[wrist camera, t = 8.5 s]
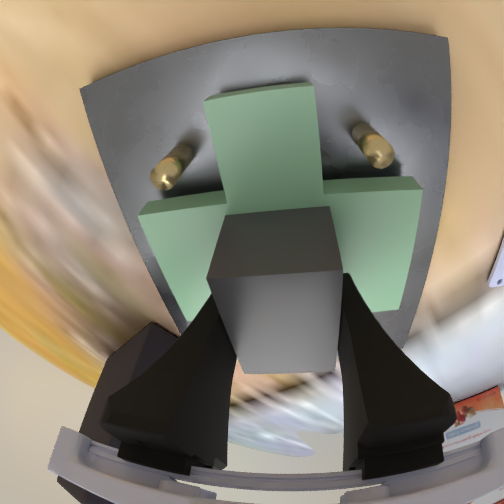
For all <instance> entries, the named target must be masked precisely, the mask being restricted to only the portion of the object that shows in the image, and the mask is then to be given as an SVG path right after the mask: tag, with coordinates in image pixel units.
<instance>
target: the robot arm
mask: <svg viewBox="0 0 504 504" xmlns="http://www.w3.org/2000/svg"><path fill="white" fill-rule="evenodd" d="M488 285H489V286H490V287H497V286H503V285H504V238H503V241H502V244H501V247H500V250H499V253H498V255H497V258H496V261H495V264H494V266H493V269H492V271H491V274H490V276H489V279H488ZM337 350H338V355H339V361H340V367H341V373H342V382H343V402H344V453H343V471H342V472H331V473H312V474H264V473H246V472H234V471H224V470H222V469H224V468H225V467H226V466H227V441H228V421H229V407H230V396H231V386H232V379H233V374H234V369H235V365H236V360H237V355H236V353H235V351H234V348H233V346H232V343H231V341H230V338H229V336H228V334H227V331H226V329H225V326H224V324H223V321H222V319H221V316H220V313H219V311H218V308H217V306H216V303H215V301H214V298H213V296H212V293H211V295H210V296H209V298H208V299H207V301H206V302H205V304H204V305H203V307H202V308H201V309H200V311H199V312H198V314H197V315H196V316H195V318H194V319H193V321H192V322H191V323H190V324H189V326H188V327H187V328H186V330H185V331H184V332H183V333H182V335H181V336H180V337H179V338H178V339H177V340H176V342H175V343H174V344H173V345H172V346H171V347H170V348H169V349H168V350H167V351H166V352H165V353H164V354H163V355H162V356H161V357H160V358H159V359H158V360H157V361H156V362H155V363H154V364H153V365H152V366H151V367H149V368H148V369H147V370H146V371H144V372H143V373H142V374H141V375H139V376H138V377H137V378H136V379H134V380H133V381H132V382H130V383H129V384H127V385H126V386H124V387H123V388H121V389H120V390H118V391H117V392H115V393H113V394H112V395H110V396H108V399H107V401H106V404H105V406H104V409H103V412H102V415H101V418H100V421H99V425H100V427H101V428H102V429H103V430H105V431H106V432H108V433H109V434H111V435H112V436H114V437H115V438H117V439H118V440H120V441H121V444H120V447H119V449H117V448H113V447H110V446H107V445H104V444H101V443H98V442H95V441H92V440H91V439H90V438H88V437H87V436H85V435H83V434H81V433H79V432H76V431H74V430H71V429H69V428H66V427H64V426H62V427H61V429H60V433H59V435H58V438H57V441H56V444H55V446H54V449H53V453H52V455H51V458H50V462H49V465H48V470H50V471H52V472H53V473H55V474H57V475H59V476H61V477H63V478H64V479H66V480H68V481H70V482H72V483H74V484H76V485H78V486H79V487H81V488H83V489H85V490H87V491H89V492H91V493H93V494H95V495H97V496H100V497H102V498H104V499H106V500H108V501H111V502H113V503H115V504H253V503H241V502H231V501H222V500H216V493H215V492H211V491H207V490H204V489H201V488H200V487H197V486H192V485H188V484H184V483H179V482H177V481H176V480H175V479H177V480H182V481H187V482H193V483H198V484H205V485H211V486H219V487H227V488H237V489H249V490H263V491H317V490H334V489H345V488H355V487H362V486H370V485H376V484H381V485H380V486H376V487H370V488H365V489H360V490H353V491H347V492H346V493H345V494H344V495H342V496H341V497H340V504H467V503H470V502H472V501H474V500H476V499H478V498H481V497H483V496H485V495H487V494H489V493H491V492H493V491H495V490H497V489H499V488H501V487H503V486H504V427H503V428H501V429H498V430H496V431H494V432H492V433H490V434H488V435H486V436H485V437H483V438H482V439H481V440H480V441H477V442H474V443H472V444H469V445H466V446H463V447H460V448H457V449H454V450H450V451H447V452H444V453H443V447H442V443H444V441H445V439H444V432H445V431H446V430H447V429H449V428H450V427H451V426H452V425H453V424H454V423H455V421H456V420H457V414H456V410H455V406H454V404H453V401H452V398H451V396H450V394H449V393H448V392H447V391H445V390H444V389H443V388H441V387H440V386H439V385H438V384H436V383H435V382H434V381H433V380H432V379H430V378H429V377H428V376H427V375H426V374H425V373H424V372H423V371H421V370H420V369H419V368H418V367H417V366H416V365H415V364H414V363H413V362H412V361H411V360H410V359H409V358H408V357H407V356H406V355H405V354H404V353H403V351H402V350H401V349H400V348H399V347H398V346H397V345H396V344H395V342H394V341H393V340H392V339H391V338H390V336H389V335H388V334H387V333H386V331H385V330H384V329H383V327H382V326H381V325H380V323H379V322H378V320H377V319H376V318H375V316H374V315H373V313H372V312H371V310H370V309H369V307H368V306H367V304H366V303H365V301H364V299H363V298H362V296H361V294H360V292H359V291H358V289H357V287H356V285H355V283H354V281H353V279H352V277H351V275H350V274H349V273H343V284H342V301H341V315H340V327H339V338H338V348H337ZM382 483H383V484H382Z"/></svg>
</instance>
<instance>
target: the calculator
mask: <svg viewBox="0 0 504 504" xmlns="http://www.w3.org/2000/svg"><path fill="white" fill-rule="evenodd" d="M177 339H178V338H177V337H175V336H173V335H172V334H170V333H169V332H167V331H165V330H164V329H162V328H160V327H159V326H157V325H156V324H154V323H150V324H149V325H147V326H146V327H145V328H144V329H142V330H141V331H140V332H139V333H138V334H136V335H135V336H134V337H133V338H132V339H130V340H129V341H128V342H127V343H126V344H124V345H123V346H122V347H121V348H119V349H118V350H117V351H116V352H115V353H113V354H112V355H111V356H110V357H109V358H108V359H107V361H106V363H105V366H104V368H103V370H102V373H101V375H100V378H99V380H98V383H97V385H96V388H95V390H94V393H93V396H92V398H91V401H90V403H89V406H88V408H87V411H86V414H85V417H84V419H83V422H82V425H81V428H80V431H79V433H81V434H83V435H85V436H87V437H88V438H90V439H91V440H92V441H95V442H98V443H101V444H104V445H107V446H110V447H113V448H117V449H119V447H120V444H121V441H120V440H118V439H117V438H115V437H114V436H112V435H111V434H109V433H108V432H106V431H105V430H103V429H102V428H101V427H100V425H99V421H100V418H101V415H102V412H103V409H104V406H105V404H106V401H107V399H108V396H110V395H112V394H113V393H115V392H117V391H118V390H120V389H121V388H123V387H124V386H126V385H127V384H129V383H130V382H132V381H133V380H134V379H136V378H137V377H138V376H139V375H141V374H142V373H143V372H144V371H146V370H147V369H148V368H149V367H151V366H152V365H153V364H154V363H155V362H156V361H157V360H158V359H159V358H160V357H161V356H162V355H163V354H164V353H165V352H166V351H167V350H168V349H169V348H170V347H171V346H172V345H173V344H174V343H175V342H176V340H177ZM57 482H58V483H59V484H60V485H61V486H62V487H64V489H66V490H67V491H68V492H69V493H70V494H71V495H72V496H73V497H74V498H75V499H77V500H78V501H79V502H80V503H81V504H115V503H113V502H111V501H108V500H106V499H104V498H102V497H100V496H97V495H95V494H93V493H91V492H89V491H87V490H85V489H83V488H81V487H79V486H78V485H76V484H74V483H72V482H70V481H68V480H66V479H64V478H63V477H61V476H59V475H58V478H57Z"/></svg>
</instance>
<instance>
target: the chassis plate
mask: <svg viewBox="0 0 504 504" xmlns="http://www.w3.org/2000/svg"><path fill="white" fill-rule="evenodd" d="M304 82H311V83H312V85H313V86H314V92H315V101H316V109H317V119H318V129H319V139H320V151H321V163H322V177H323V180H335V179H352V178H372V177H400V176H413V178H414V179H415V180H416V181H417V183H418V184H419V185H420V187H421V188H422V189H423V193H422V201H421V208H420V214H419V221H418V227H417V232H416V238H415V243H414V248H413V253H412V258H411V262H410V267H409V271H408V275H407V280H406V284H405V288H404V292H403V295H402V299H401V303H400V306H399V309H397V310H389V311H380V312H372V313H373V315H374V316H375V318H376V319H377V320H378V322H379V323H380V325H381V326H382V327H383V329H384V330H385V331H386V333H387V334H388V335H389V336H390V338H391V339H392V340H393V341H394V342H395V344H396V345H397V346H398V347H399V348H400V349H402V348H403V347H404V344H405V342H406V339H407V336H408V334H409V331H410V328H411V325H412V322H413V319H414V316H415V313H416V310H417V307H418V304H419V301H420V298H421V295H422V291H423V288H424V284H425V281H426V277H427V273H428V270H429V266H430V262H431V258H432V254H433V249H434V245H435V241H436V236H437V231H438V226H439V221H440V216H441V210H442V204H443V198H444V191H445V184H446V176H447V167H448V157H449V145H450V129H451V71H450V55H449V44H448V38H446V37H441V36H435V35H429V34H423V33H415V32H407V31H398V30H387V29H372V28H314V29H298V30H287V31H277V32H269V33H261V34H255V35H248V36H242V37H237V38H231V39H226V40H221V41H217V42H212V43H208V44H204V45H199V46H195V47H192V48H188V49H184V50H181V51H177V52H174V53H170V54H167V55H164V56H161V57H157V58H154V59H151V60H148V61H146V62H143V63H140V64H137V65H134V66H132V67H129V68H126V69H124V70H121V71H119V72H116V73H114V74H112V75H109V76H107V77H104V78H102V79H100V80H98V81H95V82H93V83H91V84H89V85H87V86H85V87H83V88H81V89H80V92H81V96H82V100H83V103H84V107H85V110H86V113H87V117H88V120H89V123H90V126H91V129H92V132H93V135H94V138H95V141H96V144H97V147H98V150H99V153H100V156H101V159H102V162H103V164H104V167H105V170H106V173H107V175H108V178H109V181H110V183H111V186H112V188H113V191H114V194H115V196H116V199H117V201H118V203H119V206H120V208H121V211H122V213H123V216H124V218H125V220H126V223H127V225H128V227H129V230H130V232H131V234H132V237H133V239H134V241H135V243H136V245H137V248H138V250H139V252H140V254H141V256H142V258H143V261H144V263H145V265H146V267H147V269H148V271H149V273H150V275H151V277H152V279H153V281H154V283H155V285H156V287H157V289H158V291H159V293H160V295H161V297H162V299H163V301H164V303H165V305H166V307H167V309H168V311H169V313H170V315H171V316H172V318H173V320H174V322H175V324H176V326H177V327H178V329H179V331H180V333H181V335H182V333H183V332H184V331H185V330H186V328H187V327H188V326H189V324H190V323H191V322H192V321H187V320H186V318H185V316H184V315H183V313H182V311H181V309H180V307H179V305H178V303H177V301H176V299H175V297H174V295H173V293H172V291H171V289H170V287H169V285H168V283H167V281H166V279H165V276H164V274H163V272H162V270H161V268H160V266H159V264H158V262H157V259H156V257H155V255H154V253H153V251H152V249H151V246H150V244H149V242H148V240H147V237H146V235H145V233H144V230H143V228H142V226H141V224H140V221H139V219H138V214H139V213H140V211H141V210H142V209H143V207H144V206H145V204H146V203H147V202H148V201H154V200H160V199H166V198H173V197H179V196H186V195H193V194H200V193H207V192H214V191H222V190H224V188H223V184H222V180H221V176H220V172H219V168H218V163H217V159H216V155H215V151H214V147H213V143H212V139H211V135H210V130H209V126H208V122H207V118H206V114H205V109H204V105H203V101H204V100H205V99H207V98H208V97H210V96H212V95H217V94H222V93H227V92H233V91H239V90H245V89H251V88H258V87H266V86H274V85H282V84H292V83H304ZM337 356H339V355H338V350H337ZM237 359H238V358H237Z"/></svg>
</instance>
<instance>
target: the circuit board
mask: <svg viewBox="0 0 504 504" xmlns="http://www.w3.org/2000/svg"><path fill="white" fill-rule="evenodd" d="M203 105H204V109H205V114H206V118H207V122H208V126H209V130H210V135H211V139H212V143H213V147H214V151H215V155H216V159H217V163H218V168H219V172H220V176H221V180H222V184H223V188H224V190H222V191H214V192H207V193H200V194H193V195H186V196H179V197H173V198H166V199H160V200H154V201H148V202H147V203H146V204H145V206H144V207H143V209H142V210H141V211H140V213H139V214H138V219H139V221H140V224H141V226H142V228H143V230H144V233H145V235H146V237H147V240H148V242H149V244H150V246H151V249H152V251H153V253H154V255H155V257H156V259H157V262H158V264H159V266H160V268H161V270H162V272H163V274H164V276H165V279H166V281H167V283H168V285H169V287H170V289H171V291H172V293H173V295H174V297H175V299H176V301H177V303H178V305H179V307H180V309H181V311H182V313H183V315H184V316H185V318H186V320H187V321H193V319H194V318H195V316H196V315H197V314H198V312H199V311H200V309H201V308H202V307H203V305H204V304H205V302H206V301H207V299H208V298H209V296H210V295H211V293H212V296H213V298H214V301H215V303H216V306H217V308H218V311H219V313H220V316H221V319H222V321H223V324H224V326H225V329H226V331H227V334H228V336H229V338H230V341H231V343H232V346H233V348H234V351H235V353H236V355H237V358H238V360H239V363H240V365H241V367H242V370H243V372H244V374H281V373H308V372H324V371H335V366H336V357H337V348H338V338H339V327H340V315H341V301H342V284H343V273H349V274H350V275H351V277H352V279H353V281H354V283H355V285H356V287H357V289H358V291H359V292H360V294H361V296H362V298H363V299H364V301H365V303H366V304H367V306H368V307H369V309H370V310H371V312H380V311H389V310H397V309H399V306H400V303H401V299H402V295H403V292H404V288H405V284H406V280H407V275H408V271H409V267H410V262H411V258H412V253H413V248H414V243H415V238H416V232H417V227H418V221H419V214H420V208H421V201H422V193H423V189H422V188H421V187H420V185H419V184H418V183H417V181H416V180H415V179H414V178H413V176H400V177H372V178H352V179H335V180H323V177H322V163H321V151H320V139H319V129H318V119H317V109H316V101H315V92H314V86H313V85H312V83H311V82H304V83H292V84H282V85H274V86H266V87H258V88H251V89H245V90H239V91H233V92H227V93H222V94H217V95H212V96H210V97H208V98H207V99H205V100H204V101H203Z"/></svg>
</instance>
